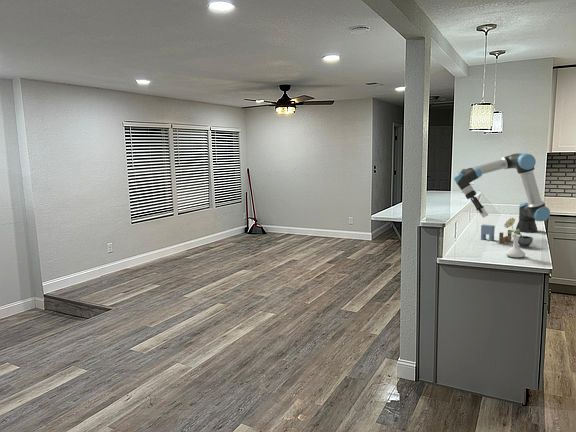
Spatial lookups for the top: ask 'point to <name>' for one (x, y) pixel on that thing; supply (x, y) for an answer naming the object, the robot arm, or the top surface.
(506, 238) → the wooden drawer pull
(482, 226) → the slotted block
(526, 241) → the mortar and pestle
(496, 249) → the top surface
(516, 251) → the flower in vase
